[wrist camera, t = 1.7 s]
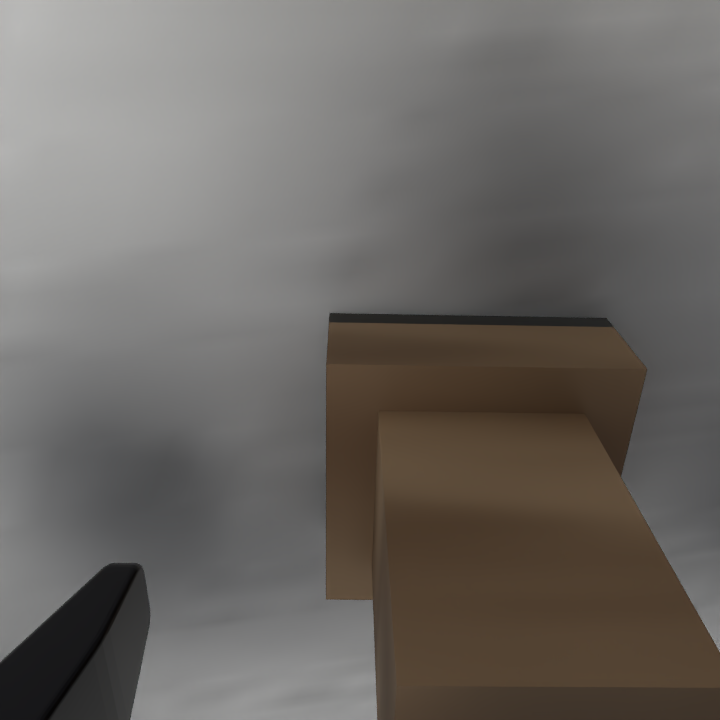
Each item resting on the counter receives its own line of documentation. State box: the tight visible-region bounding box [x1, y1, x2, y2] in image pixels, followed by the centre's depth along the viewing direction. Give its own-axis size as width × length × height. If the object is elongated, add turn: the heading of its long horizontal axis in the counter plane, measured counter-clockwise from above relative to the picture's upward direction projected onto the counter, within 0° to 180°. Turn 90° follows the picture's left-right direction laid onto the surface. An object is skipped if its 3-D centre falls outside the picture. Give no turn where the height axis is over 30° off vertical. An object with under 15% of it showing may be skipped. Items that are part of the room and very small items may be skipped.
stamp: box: [326, 313, 720, 720], centre depth 9 cm, size 4×4×6 cm
